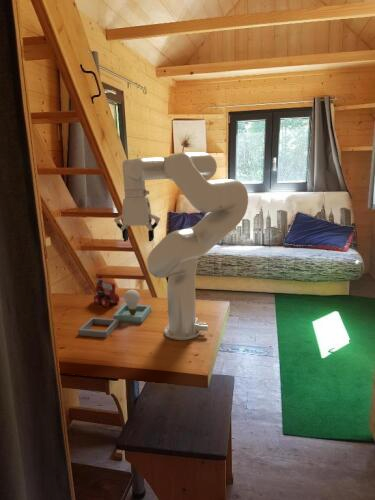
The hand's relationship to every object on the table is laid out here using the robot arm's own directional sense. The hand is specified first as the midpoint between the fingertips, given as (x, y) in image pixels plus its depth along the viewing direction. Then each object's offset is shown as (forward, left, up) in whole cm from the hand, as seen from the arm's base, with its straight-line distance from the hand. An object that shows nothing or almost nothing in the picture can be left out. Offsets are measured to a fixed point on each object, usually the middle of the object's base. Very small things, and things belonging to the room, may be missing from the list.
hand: (138, 240), depth 140 cm
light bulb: (+3, +2, -29) cm, 29 cm away
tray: (+3, +2, -30) cm, 30 cm away
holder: (+11, +15, -30) cm, 35 cm away
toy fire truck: (+19, -9, -30) cm, 37 cm away
